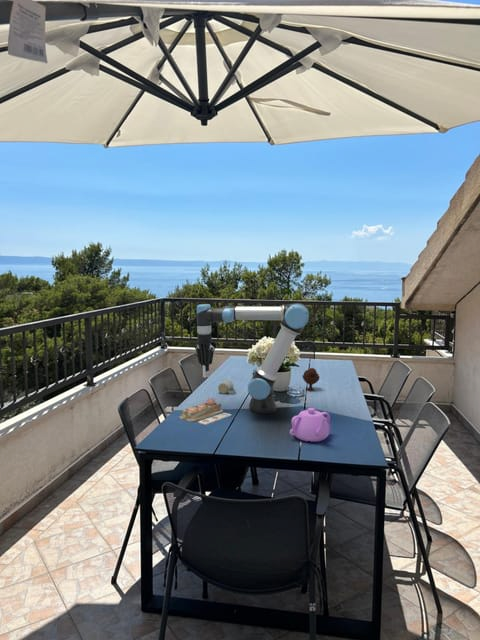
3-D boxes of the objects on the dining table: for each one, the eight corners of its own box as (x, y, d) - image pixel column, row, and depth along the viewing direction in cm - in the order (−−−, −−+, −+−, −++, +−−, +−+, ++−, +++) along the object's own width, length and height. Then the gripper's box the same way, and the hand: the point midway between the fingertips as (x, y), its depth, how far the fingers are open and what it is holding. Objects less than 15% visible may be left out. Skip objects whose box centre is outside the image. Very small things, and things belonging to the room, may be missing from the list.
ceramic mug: (217, 393, 289) (217, 381, 288) (222, 390, 297) (222, 378, 296) (232, 395, 285) (233, 383, 284) (237, 392, 293) (238, 380, 292)
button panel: (223, 412, 252) (223, 404, 251) (192, 422, 234) (192, 413, 234) (209, 408, 258) (209, 400, 258) (179, 418, 241) (179, 409, 240)
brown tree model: (321, 389, 302) (322, 367, 300) (314, 393, 292) (315, 370, 291) (306, 387, 307) (307, 365, 306) (299, 390, 298) (300, 368, 296)
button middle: (207, 411, 246) (207, 405, 246) (201, 413, 243) (201, 407, 242) (201, 410, 249) (201, 403, 249) (195, 412, 246) (195, 405, 245)
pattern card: (231, 415, 246) (231, 414, 246) (205, 424, 231) (205, 423, 231) (224, 413, 249) (224, 412, 249) (198, 422, 234) (198, 421, 234)
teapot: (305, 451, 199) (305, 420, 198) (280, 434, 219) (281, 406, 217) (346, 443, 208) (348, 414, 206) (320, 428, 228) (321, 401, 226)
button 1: (198, 414, 241) (198, 408, 241) (192, 416, 238) (192, 410, 237) (192, 413, 244) (192, 406, 244) (185, 415, 241) (185, 408, 240)
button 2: (216, 405, 251) (216, 399, 251) (210, 407, 248) (210, 401, 248) (210, 404, 254) (210, 397, 254) (204, 405, 251) (204, 399, 251)
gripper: (218, 333, 244) (219, 377, 246) (200, 331, 252) (201, 374, 254) (208, 335, 238) (210, 379, 240) (190, 333, 246) (192, 376, 248)
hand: (205, 376), depth 247 cm, fingers closed
